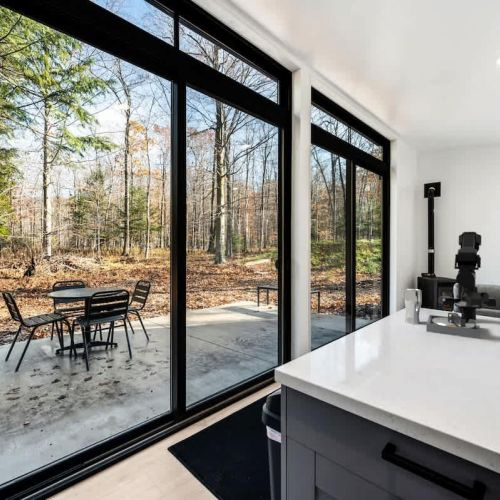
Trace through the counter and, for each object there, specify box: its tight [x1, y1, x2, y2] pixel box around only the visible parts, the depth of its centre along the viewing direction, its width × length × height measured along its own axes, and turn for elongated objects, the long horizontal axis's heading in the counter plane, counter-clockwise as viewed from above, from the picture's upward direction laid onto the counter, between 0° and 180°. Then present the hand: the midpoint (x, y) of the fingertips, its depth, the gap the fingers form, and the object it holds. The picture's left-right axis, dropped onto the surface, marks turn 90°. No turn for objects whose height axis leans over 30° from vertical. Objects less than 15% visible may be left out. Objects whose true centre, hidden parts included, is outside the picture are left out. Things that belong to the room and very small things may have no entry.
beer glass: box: [403, 288, 423, 325], centre depth 145 cm, size 7×7×15 cm
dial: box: [432, 312, 475, 329], centre depth 132 cm, size 17×15×5 cm
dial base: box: [425, 314, 482, 340], centre depth 133 cm, size 18×18×4 cm
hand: (466, 322), depth 125 cm, fingers closed
